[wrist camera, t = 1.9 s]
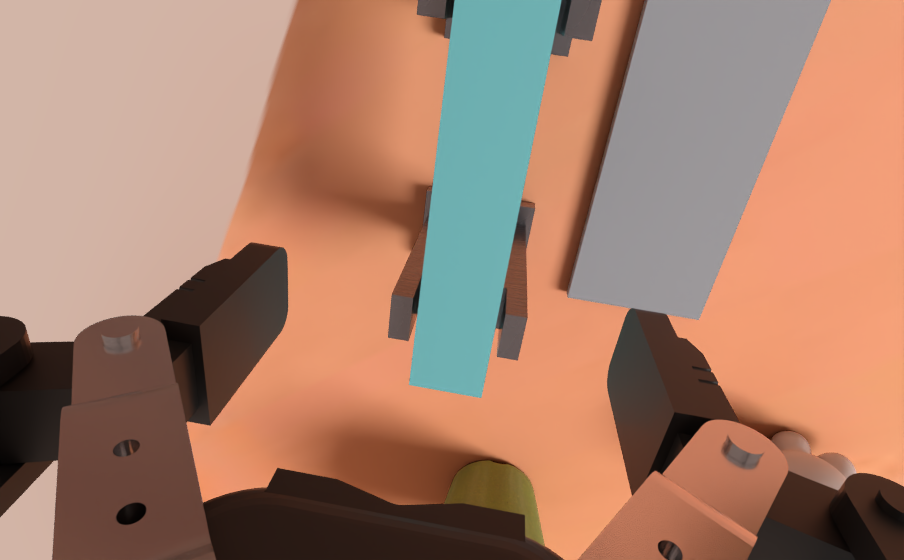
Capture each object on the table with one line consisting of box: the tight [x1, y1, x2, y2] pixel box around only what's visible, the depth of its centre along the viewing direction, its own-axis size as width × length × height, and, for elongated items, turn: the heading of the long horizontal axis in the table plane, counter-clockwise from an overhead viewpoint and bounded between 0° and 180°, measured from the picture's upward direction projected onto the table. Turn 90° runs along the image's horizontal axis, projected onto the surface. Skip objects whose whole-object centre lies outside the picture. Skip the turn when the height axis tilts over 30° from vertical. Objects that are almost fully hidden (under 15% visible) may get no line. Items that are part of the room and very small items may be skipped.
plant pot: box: [444, 460, 545, 546], centre depth 42 cm, size 12×12×11 cm
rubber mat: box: [567, 0, 831, 320], centre depth 31 cm, size 23×9×1 cm, turn 172°
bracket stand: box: [388, 0, 602, 360], centre depth 27 cm, size 19×7×12 cm, turn 172°
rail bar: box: [409, 0, 562, 398], centre depth 22 cm, size 20×4×4 cm, turn 172°
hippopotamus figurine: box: [771, 431, 856, 490], centre depth 38 cm, size 7×12×8 cm, turn 71°
